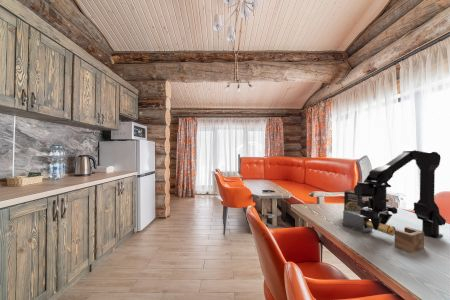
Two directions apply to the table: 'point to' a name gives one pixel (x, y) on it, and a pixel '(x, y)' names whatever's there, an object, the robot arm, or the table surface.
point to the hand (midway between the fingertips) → (378, 229)
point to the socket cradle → (409, 239)
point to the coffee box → (351, 201)
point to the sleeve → (355, 221)
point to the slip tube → (381, 227)
